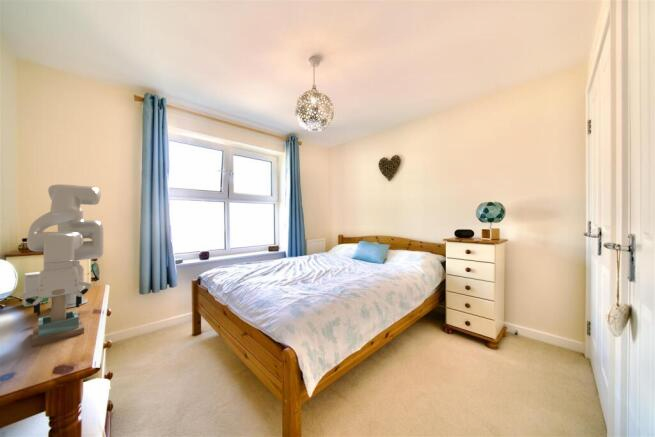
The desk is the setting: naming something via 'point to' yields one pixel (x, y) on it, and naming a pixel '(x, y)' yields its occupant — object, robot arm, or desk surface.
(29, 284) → the skincare box
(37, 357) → the desk surface
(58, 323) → the teal open box
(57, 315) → the handle
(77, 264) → the robot arm
